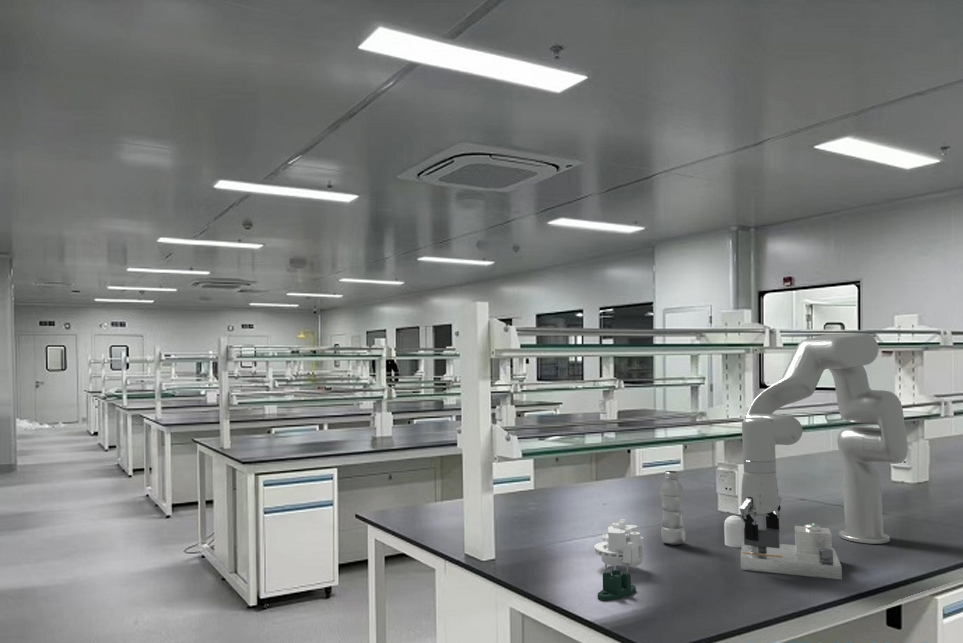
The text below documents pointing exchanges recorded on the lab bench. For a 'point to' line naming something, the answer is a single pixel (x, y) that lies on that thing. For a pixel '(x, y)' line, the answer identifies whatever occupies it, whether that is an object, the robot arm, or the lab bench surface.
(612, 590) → the mount
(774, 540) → the block
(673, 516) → the plastic bottle
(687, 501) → the lab bench surface
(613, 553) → the mechanical part
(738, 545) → the capsule
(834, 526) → the lab bench surface
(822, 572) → the levelling base
